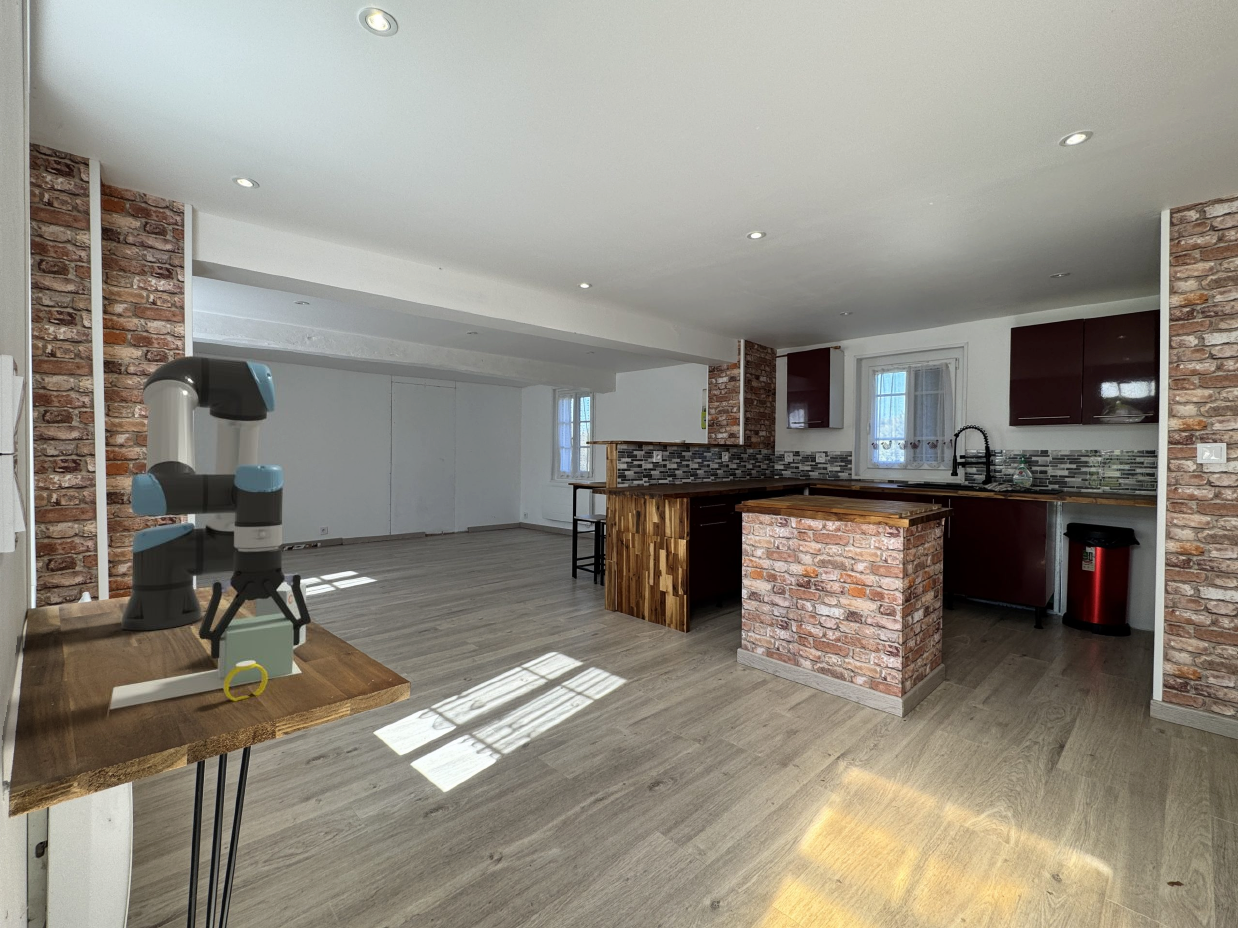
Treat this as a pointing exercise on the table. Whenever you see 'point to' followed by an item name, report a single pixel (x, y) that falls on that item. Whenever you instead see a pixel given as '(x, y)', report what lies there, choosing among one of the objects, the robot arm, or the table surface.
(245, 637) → the block
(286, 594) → the small box
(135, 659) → the table surface
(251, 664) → the watch
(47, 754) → the table surface
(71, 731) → the table surface
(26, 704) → the table surface
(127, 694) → the base
